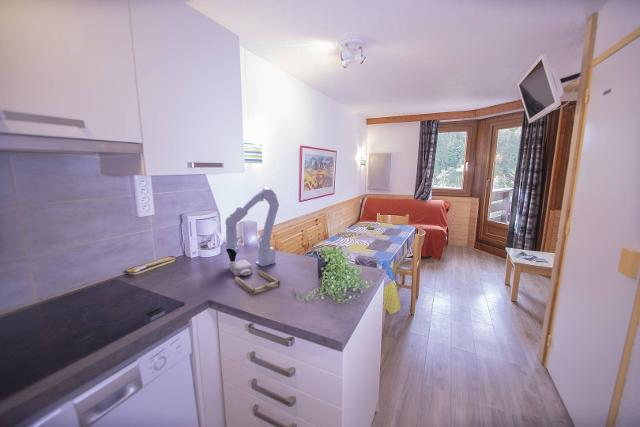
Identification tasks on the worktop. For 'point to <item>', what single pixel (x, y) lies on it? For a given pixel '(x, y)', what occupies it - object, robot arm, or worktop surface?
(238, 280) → the frame
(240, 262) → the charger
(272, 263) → the robot arm
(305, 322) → the worktop surface
